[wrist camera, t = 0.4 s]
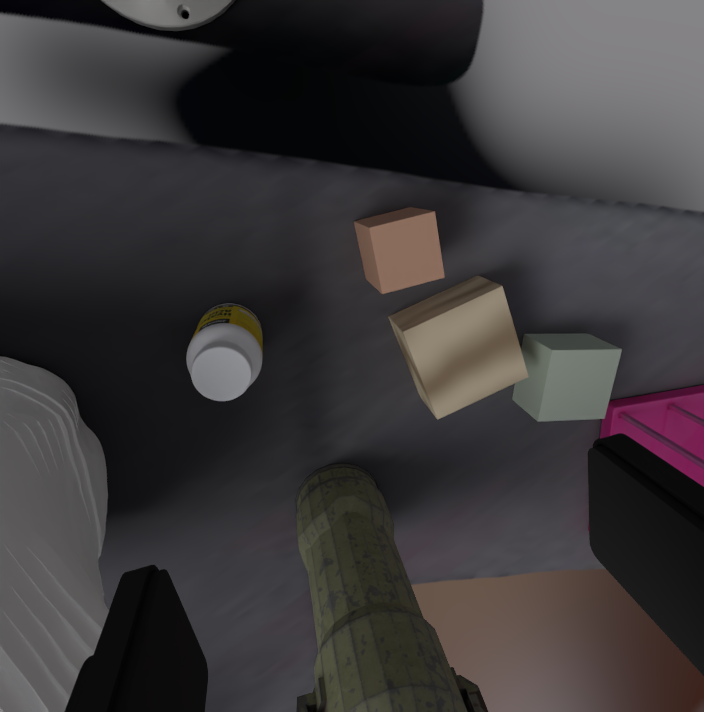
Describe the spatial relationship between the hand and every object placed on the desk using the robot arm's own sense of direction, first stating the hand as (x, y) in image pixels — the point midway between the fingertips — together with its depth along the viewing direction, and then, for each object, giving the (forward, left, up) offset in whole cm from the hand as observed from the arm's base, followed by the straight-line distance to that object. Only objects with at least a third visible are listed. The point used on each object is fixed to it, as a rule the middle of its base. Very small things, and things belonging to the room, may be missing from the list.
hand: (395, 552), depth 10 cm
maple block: (+9, +13, -33) cm, 37 cm away
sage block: (+15, +23, -33) cm, 43 cm away
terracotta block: (-1, +9, -33) cm, 34 cm away
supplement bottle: (+3, -6, -33) cm, 34 cm away
